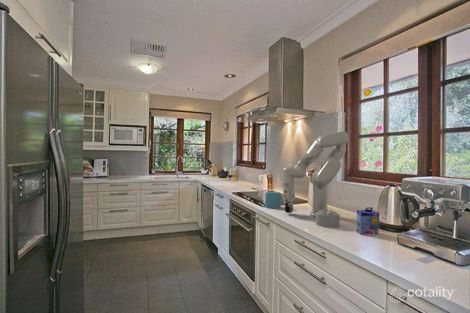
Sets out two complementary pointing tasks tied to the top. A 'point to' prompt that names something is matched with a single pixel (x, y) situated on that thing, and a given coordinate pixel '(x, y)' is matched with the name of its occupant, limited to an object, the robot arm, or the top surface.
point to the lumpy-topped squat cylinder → (327, 218)
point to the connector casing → (290, 207)
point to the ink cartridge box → (367, 221)
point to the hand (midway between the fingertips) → (289, 210)
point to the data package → (273, 199)
